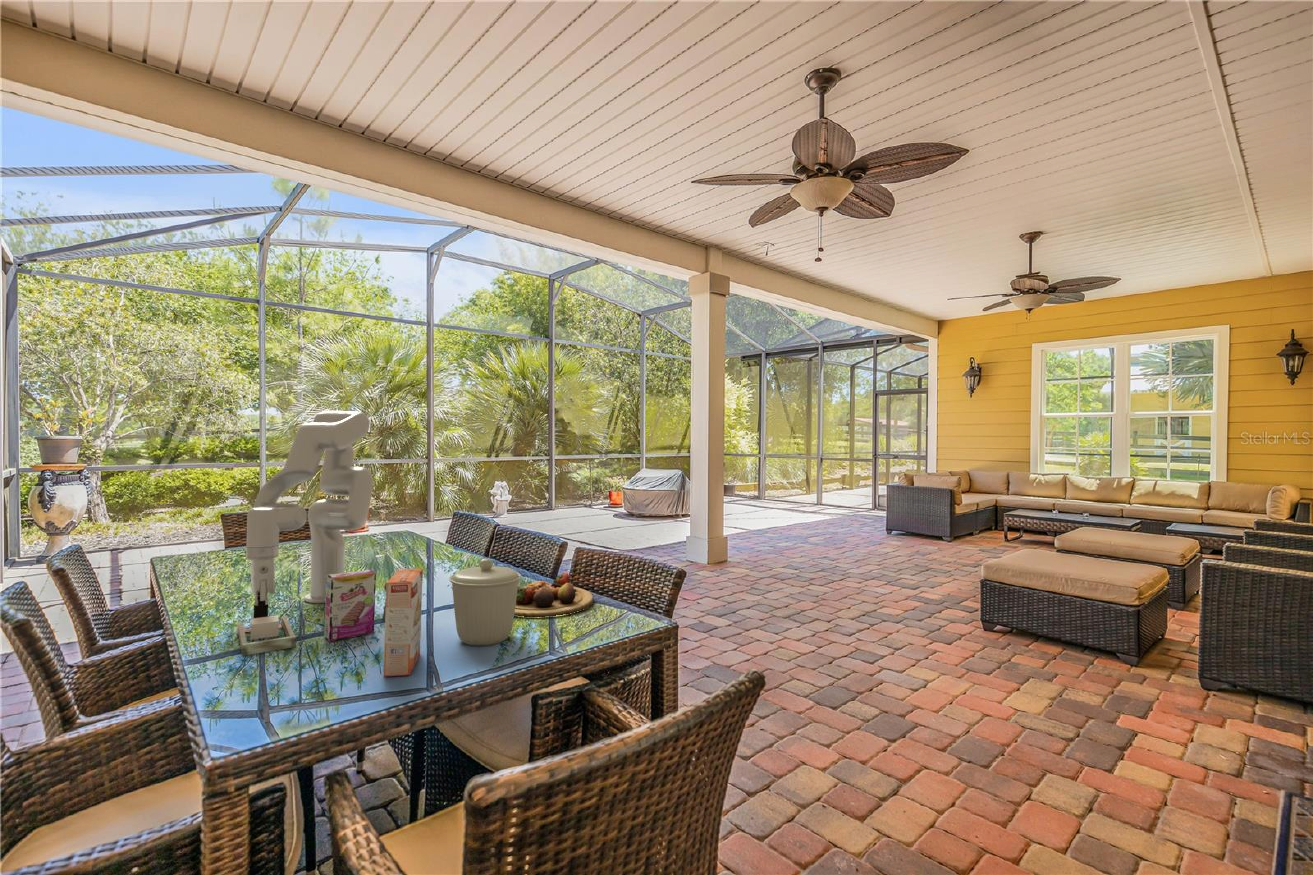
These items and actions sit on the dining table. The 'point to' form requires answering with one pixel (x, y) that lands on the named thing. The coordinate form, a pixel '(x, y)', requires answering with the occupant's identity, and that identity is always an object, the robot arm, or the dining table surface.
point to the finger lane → (267, 644)
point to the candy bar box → (349, 604)
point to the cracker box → (402, 622)
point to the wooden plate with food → (551, 598)
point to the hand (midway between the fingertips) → (260, 619)
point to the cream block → (264, 627)
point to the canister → (484, 602)
